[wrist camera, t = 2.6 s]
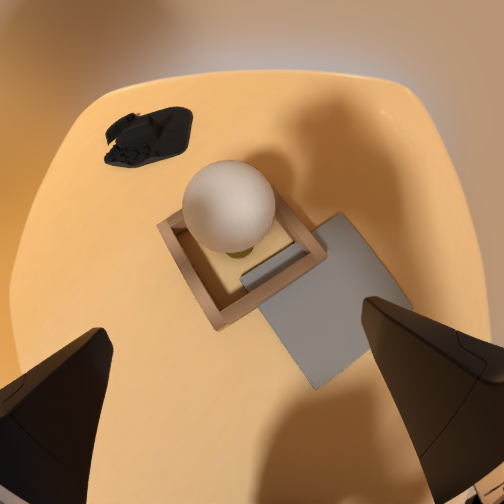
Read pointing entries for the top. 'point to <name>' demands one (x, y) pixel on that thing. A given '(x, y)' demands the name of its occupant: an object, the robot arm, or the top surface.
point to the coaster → (326, 300)
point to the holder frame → (263, 292)
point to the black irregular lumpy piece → (149, 137)
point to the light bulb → (229, 207)
